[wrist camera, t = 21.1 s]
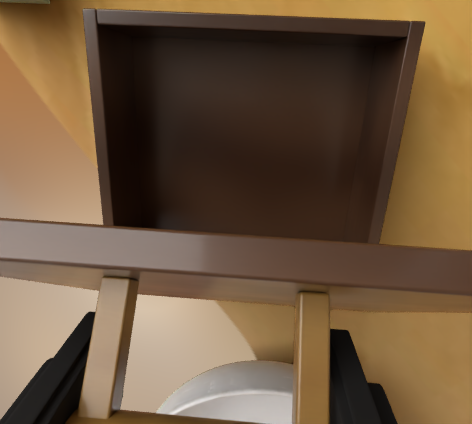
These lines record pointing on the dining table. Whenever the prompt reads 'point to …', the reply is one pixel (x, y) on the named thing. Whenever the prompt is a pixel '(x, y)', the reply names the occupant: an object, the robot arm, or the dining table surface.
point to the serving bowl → (237, 393)
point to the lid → (226, 293)
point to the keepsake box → (248, 120)
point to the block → (28, 1)
